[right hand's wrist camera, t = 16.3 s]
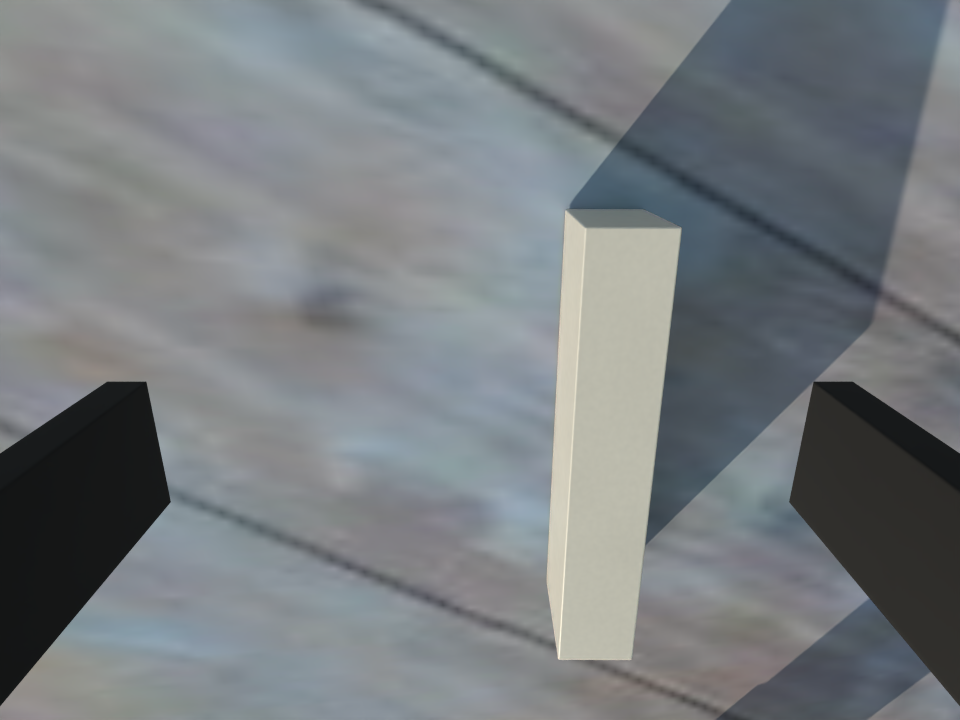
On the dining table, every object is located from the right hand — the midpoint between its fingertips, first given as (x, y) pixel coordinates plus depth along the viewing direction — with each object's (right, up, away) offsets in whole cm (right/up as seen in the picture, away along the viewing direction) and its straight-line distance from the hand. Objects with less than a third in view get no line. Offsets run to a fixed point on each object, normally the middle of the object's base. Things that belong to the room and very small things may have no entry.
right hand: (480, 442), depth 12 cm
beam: (+7, -2, +27) cm, 28 cm away
